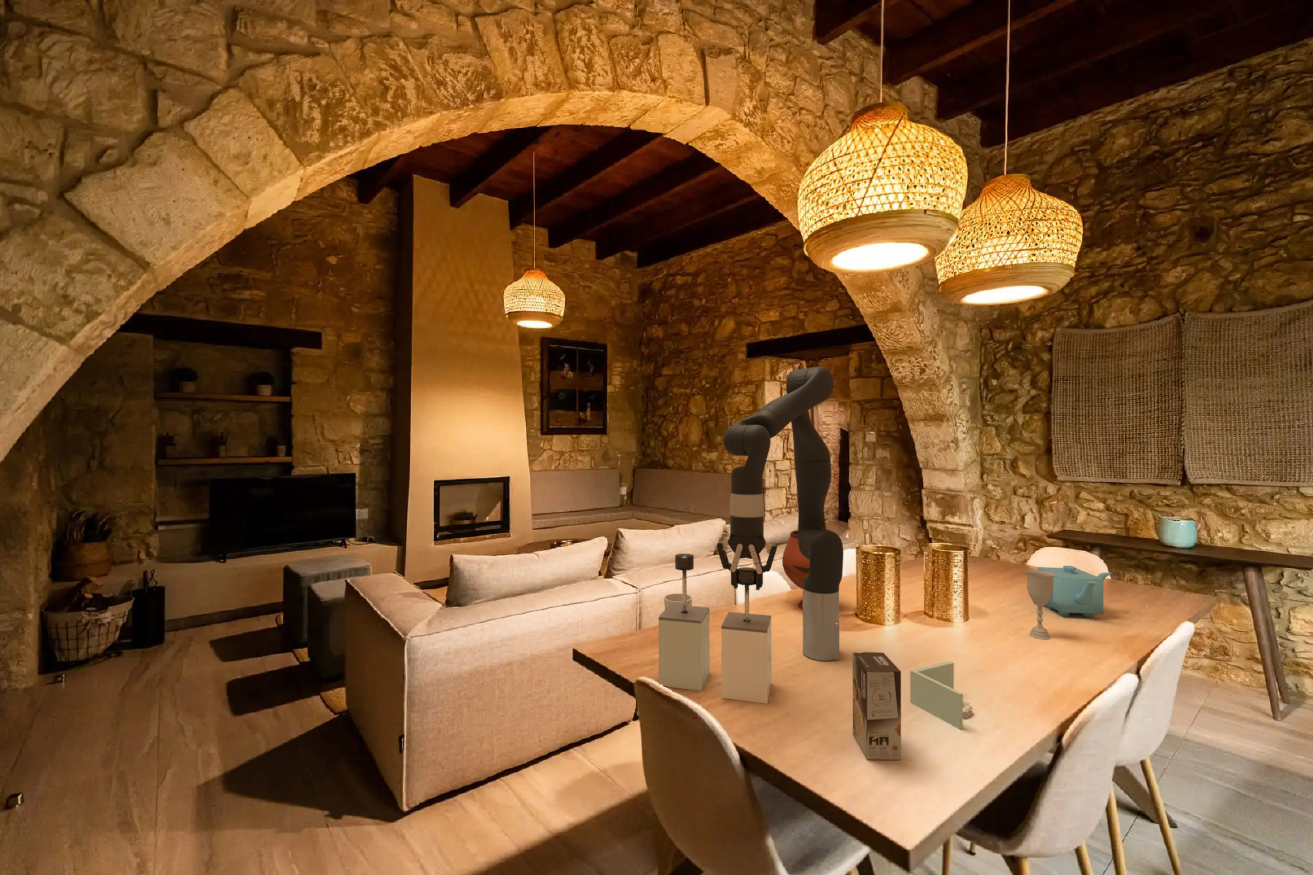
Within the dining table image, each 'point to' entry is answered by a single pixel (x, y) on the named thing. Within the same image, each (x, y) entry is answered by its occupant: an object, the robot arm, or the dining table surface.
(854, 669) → the coffee box
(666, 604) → the cup
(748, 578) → the plunger
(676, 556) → the plunger
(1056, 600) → the teakettle
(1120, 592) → the dining table surface
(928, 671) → the l-shaped corner panel
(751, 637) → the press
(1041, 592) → the chalice
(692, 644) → the block
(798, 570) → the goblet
